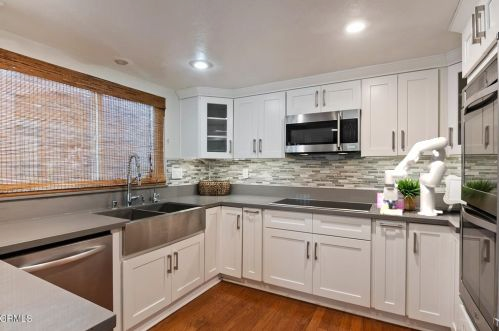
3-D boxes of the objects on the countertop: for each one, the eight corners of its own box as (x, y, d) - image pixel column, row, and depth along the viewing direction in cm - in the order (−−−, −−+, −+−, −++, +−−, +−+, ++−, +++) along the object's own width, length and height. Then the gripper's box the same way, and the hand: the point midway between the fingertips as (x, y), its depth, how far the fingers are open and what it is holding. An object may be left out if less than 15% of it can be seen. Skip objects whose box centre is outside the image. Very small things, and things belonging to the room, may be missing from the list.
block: (387, 209, 215) (387, 204, 215) (387, 209, 212) (387, 204, 212) (382, 208, 217) (382, 203, 217) (382, 209, 214) (382, 204, 214)
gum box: (375, 207, 242) (375, 192, 242) (383, 206, 244) (383, 192, 244) (396, 212, 219) (396, 195, 219) (404, 211, 221) (404, 195, 221)
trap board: (402, 212, 216) (402, 208, 216) (401, 215, 206) (401, 211, 206) (381, 210, 224) (381, 207, 224) (380, 213, 214) (380, 209, 214)
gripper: (401, 185, 212) (401, 208, 212) (380, 185, 219) (380, 207, 219) (400, 186, 205) (401, 210, 205) (379, 186, 213) (379, 208, 213)
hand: (390, 208), depth 212 cm, fingers closed
